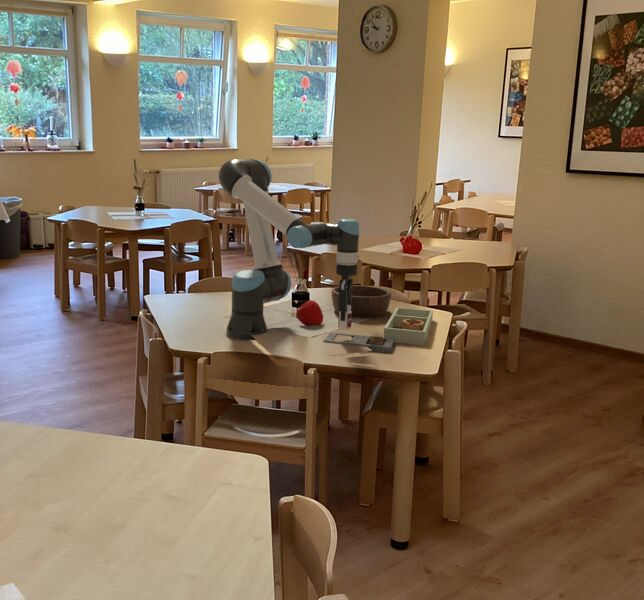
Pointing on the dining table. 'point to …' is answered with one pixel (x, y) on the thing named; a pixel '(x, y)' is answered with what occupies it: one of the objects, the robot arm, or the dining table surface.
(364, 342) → the grey slotted plate
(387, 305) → the wooden bowl
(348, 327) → the pill bottle
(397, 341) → the parts crate
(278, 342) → the dining table surface
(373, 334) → the walnut block
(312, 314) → the red rounded tapered piece
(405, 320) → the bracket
